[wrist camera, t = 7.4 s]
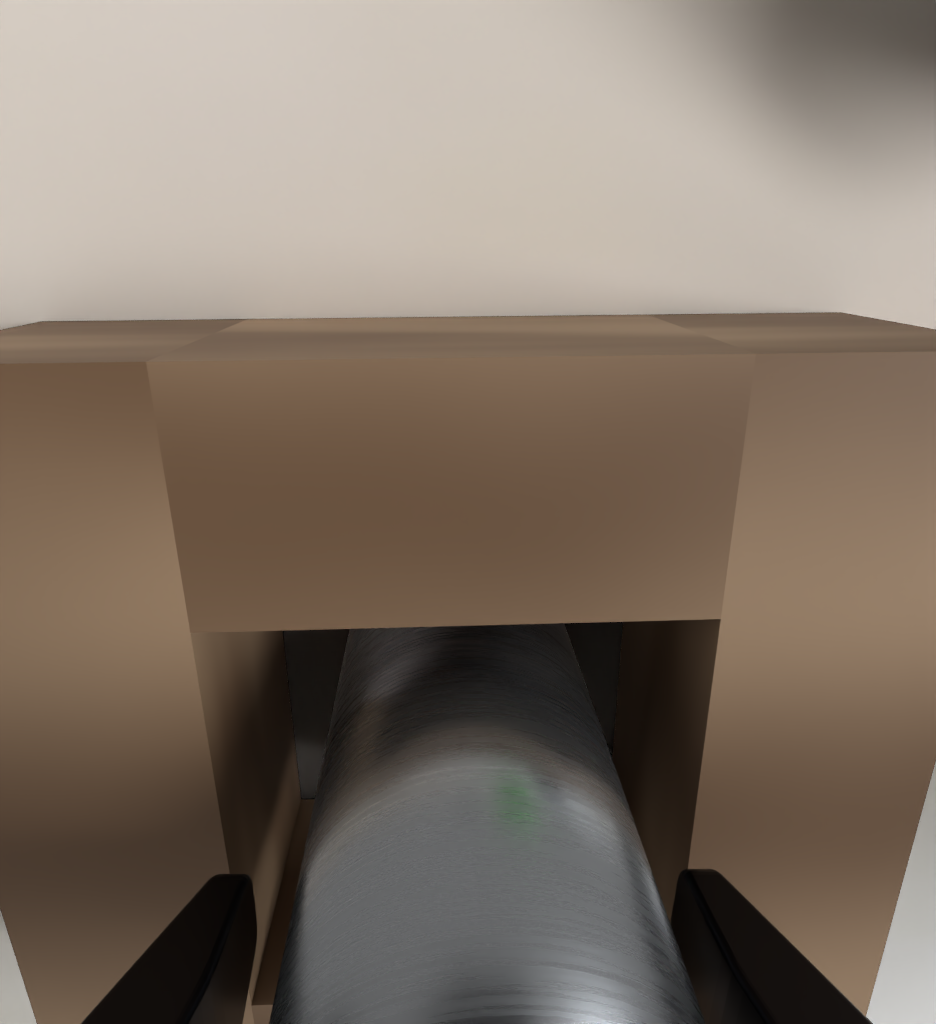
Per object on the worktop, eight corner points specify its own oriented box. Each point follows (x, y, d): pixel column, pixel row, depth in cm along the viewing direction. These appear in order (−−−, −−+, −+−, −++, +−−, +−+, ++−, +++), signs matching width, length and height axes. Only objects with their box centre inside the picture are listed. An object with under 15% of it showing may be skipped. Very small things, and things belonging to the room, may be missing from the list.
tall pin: (598, 691, 14) (806, 1241, 6) (409, 771, 14) (387, 1376, 7) (512, 513, 12) (644, 942, 5) (306, 609, 13) (131, 1137, 5)
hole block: (741, 897, 15) (839, 1110, 12) (167, 920, 15) (76, 1149, 11) (841, 312, 11) (1047, 350, 7) (42, 322, 11) (-173, 366, 7)
